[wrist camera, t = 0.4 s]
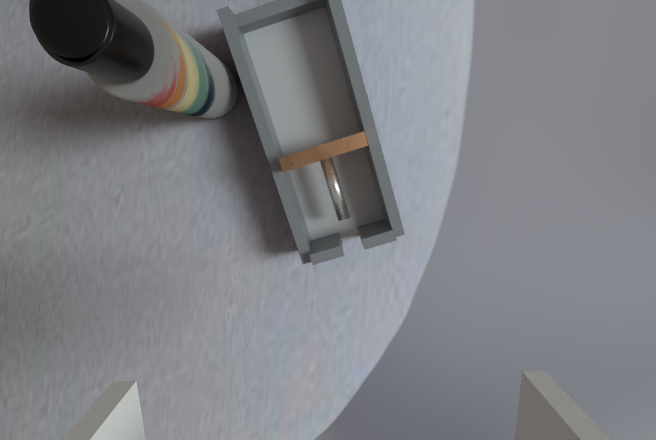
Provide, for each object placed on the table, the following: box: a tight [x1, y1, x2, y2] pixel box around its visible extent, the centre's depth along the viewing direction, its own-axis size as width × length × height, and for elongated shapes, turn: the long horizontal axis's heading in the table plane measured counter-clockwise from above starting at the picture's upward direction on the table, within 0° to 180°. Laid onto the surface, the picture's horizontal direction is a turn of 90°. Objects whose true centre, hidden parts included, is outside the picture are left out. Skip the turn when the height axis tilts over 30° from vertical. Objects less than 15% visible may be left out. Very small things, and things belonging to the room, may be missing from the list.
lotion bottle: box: [29, 0, 238, 119], centre depth 25 cm, size 6×6×20 cm
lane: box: [217, 0, 404, 265], centre depth 33 cm, size 23×10×6 cm, turn 17°
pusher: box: [279, 132, 368, 221], centre depth 33 cm, size 7×7×6 cm
